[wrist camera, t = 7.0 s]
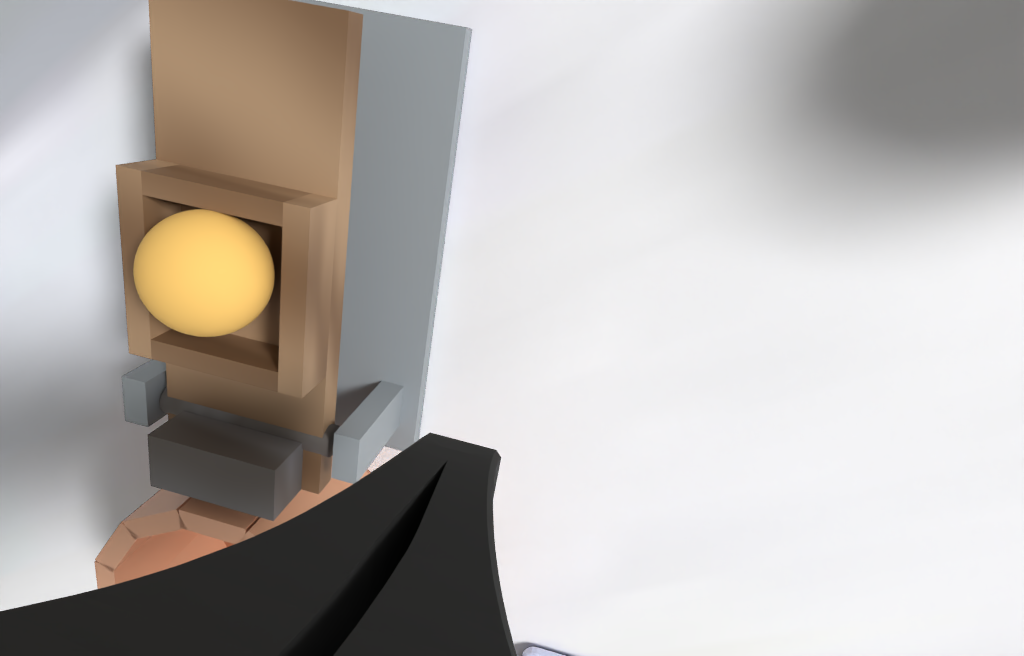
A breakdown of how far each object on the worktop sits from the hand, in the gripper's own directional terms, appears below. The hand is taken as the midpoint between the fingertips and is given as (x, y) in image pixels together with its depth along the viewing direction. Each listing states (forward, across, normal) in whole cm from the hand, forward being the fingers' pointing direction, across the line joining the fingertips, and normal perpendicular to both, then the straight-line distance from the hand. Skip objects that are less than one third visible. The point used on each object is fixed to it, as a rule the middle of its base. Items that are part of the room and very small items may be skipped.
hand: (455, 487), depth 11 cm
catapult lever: (+7, +8, -1) cm, 11 cm away
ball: (+4, +8, -1) cm, 9 cm away
